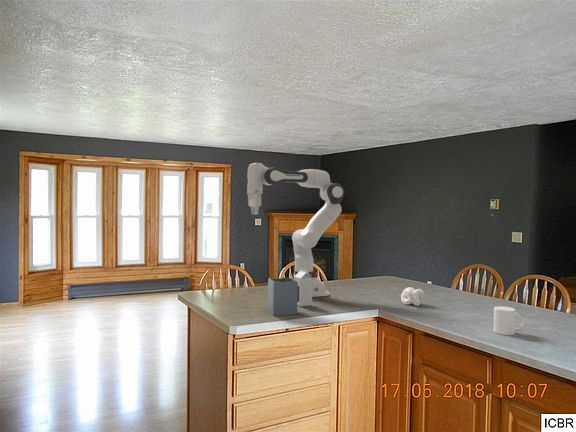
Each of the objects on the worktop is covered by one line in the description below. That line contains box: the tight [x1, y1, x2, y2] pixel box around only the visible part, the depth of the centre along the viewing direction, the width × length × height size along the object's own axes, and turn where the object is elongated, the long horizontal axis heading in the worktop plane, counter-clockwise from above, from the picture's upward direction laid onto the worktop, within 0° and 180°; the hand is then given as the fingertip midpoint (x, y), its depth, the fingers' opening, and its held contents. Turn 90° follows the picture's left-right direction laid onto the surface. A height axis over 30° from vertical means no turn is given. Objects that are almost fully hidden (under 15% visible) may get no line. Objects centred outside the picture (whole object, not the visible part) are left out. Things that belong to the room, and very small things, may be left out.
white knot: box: [400, 287, 425, 307], centre depth 243 cm, size 11×12×9 cm
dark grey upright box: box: [267, 277, 299, 316], centre depth 221 cm, size 14×12×16 cm
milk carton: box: [293, 269, 313, 307], centre depth 238 cm, size 7×7×19 cm
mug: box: [492, 305, 526, 336], centre depth 189 cm, size 8×10×12 cm
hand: (254, 214), depth 258 cm, fingers open, 8 cm apart
